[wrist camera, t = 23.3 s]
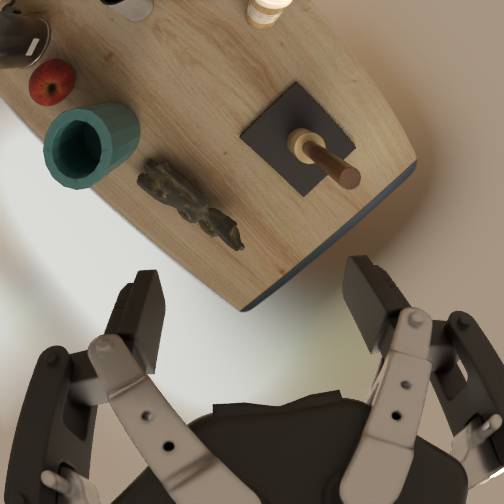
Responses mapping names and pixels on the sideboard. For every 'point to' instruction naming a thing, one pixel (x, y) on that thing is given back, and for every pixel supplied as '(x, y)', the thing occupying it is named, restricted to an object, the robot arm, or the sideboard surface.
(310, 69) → the sideboard surface
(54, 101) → the apple
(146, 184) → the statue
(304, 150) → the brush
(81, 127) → the jar
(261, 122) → the mat
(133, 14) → the grey hollow cylinder
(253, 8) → the spice bottle
